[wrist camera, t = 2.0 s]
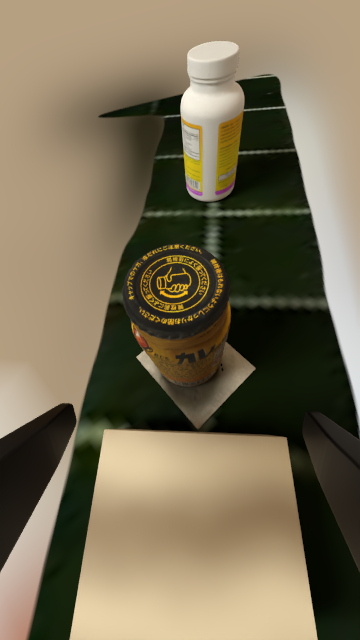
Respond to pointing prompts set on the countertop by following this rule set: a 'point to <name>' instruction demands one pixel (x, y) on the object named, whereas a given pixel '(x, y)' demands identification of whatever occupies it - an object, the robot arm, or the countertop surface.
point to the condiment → (185, 327)
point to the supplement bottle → (212, 120)
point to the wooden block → (193, 541)
